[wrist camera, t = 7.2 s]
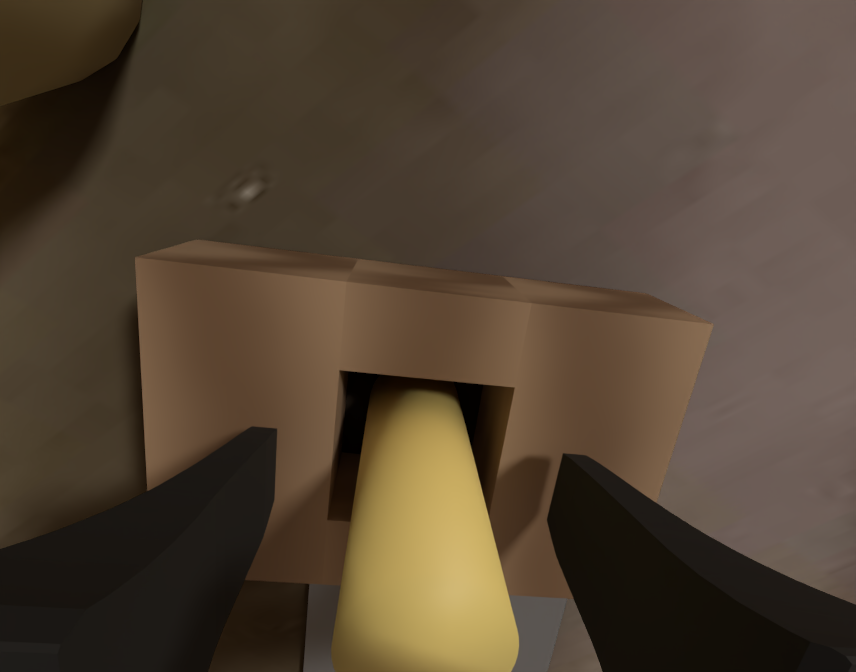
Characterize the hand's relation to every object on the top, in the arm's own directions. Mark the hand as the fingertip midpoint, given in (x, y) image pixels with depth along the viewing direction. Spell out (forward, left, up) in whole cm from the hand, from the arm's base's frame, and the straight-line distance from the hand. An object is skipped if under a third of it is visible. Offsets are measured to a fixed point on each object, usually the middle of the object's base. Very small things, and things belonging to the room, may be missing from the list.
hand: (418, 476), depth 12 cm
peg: (0, 0, -4) cm, 4 cm away
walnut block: (0, 0, -4) cm, 4 cm away
